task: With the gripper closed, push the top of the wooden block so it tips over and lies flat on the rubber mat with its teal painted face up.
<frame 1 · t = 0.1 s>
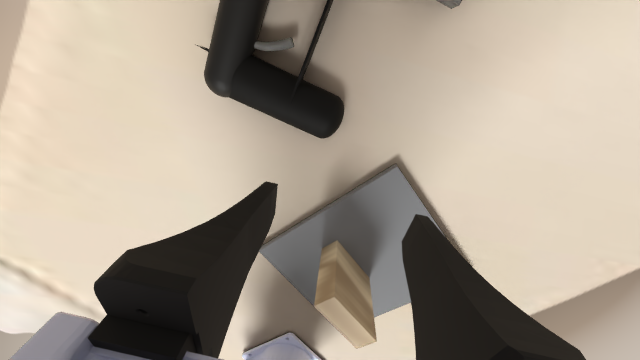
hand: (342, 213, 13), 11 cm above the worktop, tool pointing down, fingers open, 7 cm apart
mat: (362, 258, 27), on the worktop
wooden block: (346, 263, 27), point 1 cm above the worktop, touching mat
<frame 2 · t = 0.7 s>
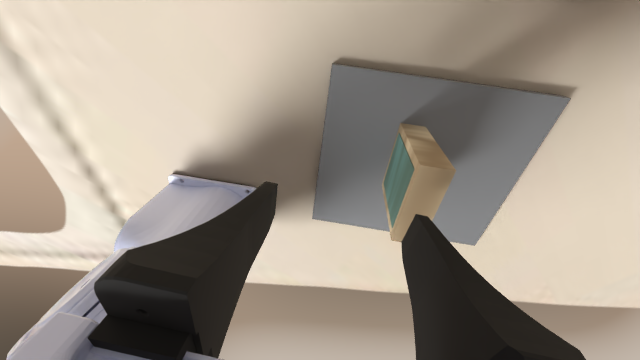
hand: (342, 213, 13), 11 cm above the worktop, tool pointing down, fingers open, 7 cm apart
mat: (413, 166, 22), on the worktop
wooden block: (401, 158, 21), point 1 cm above the worktop, touching mat
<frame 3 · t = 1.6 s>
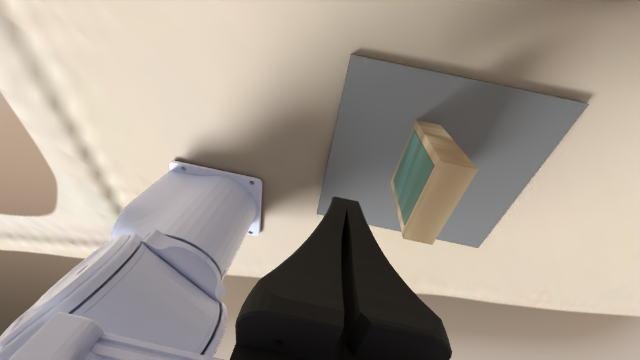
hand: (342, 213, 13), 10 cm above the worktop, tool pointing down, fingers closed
mat: (424, 165, 22), on the worktop
wooden block: (413, 156, 21), point 1 cm above the worktop, touching mat
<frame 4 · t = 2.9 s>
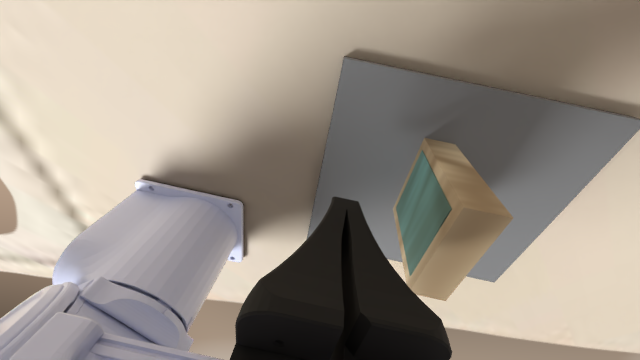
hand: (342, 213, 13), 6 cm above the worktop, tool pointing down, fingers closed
mat: (433, 189, 19), on the worktop
wooden block: (421, 179, 17), point 1 cm above the worktop, touching mat
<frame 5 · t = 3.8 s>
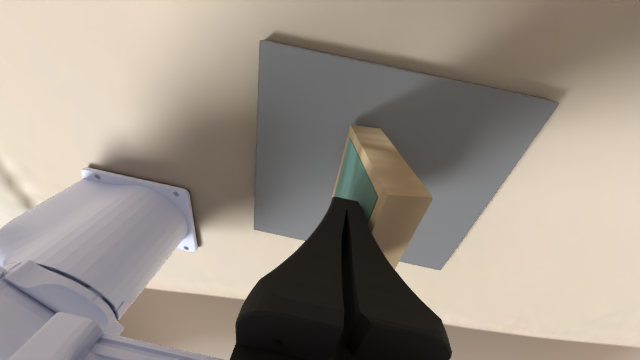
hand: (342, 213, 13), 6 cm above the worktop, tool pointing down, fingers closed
mat: (369, 175, 19), on the worktop
wooden block: (353, 167, 17), point 1 cm above the worktop, tilted 14°, touching mat
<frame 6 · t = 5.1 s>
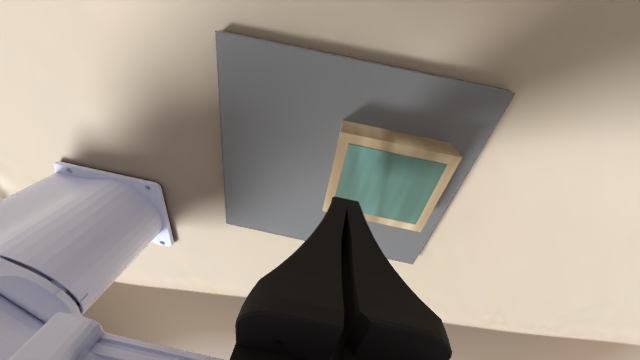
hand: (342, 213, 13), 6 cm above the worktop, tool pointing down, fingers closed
mat: (337, 168, 19), on the worktop
wooden block: (331, 167, 17), point 2 cm above the worktop, tilted 90°, touching mat
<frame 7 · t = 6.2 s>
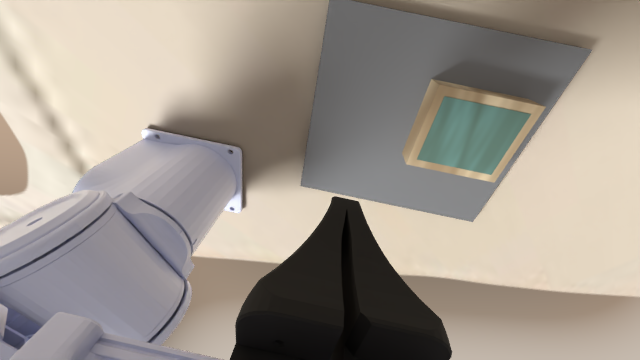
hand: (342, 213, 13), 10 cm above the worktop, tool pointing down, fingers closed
mat: (413, 128, 21), on the worktop
wooden block: (418, 123, 18), point 2 cm above the worktop, tilted 90°, touching mat
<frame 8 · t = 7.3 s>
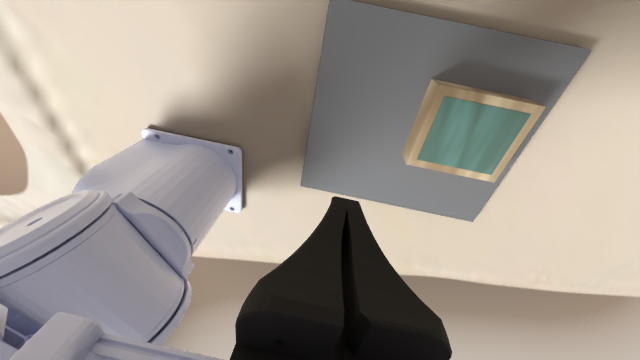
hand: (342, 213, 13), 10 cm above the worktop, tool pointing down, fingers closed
mat: (413, 128, 21), on the worktop
wooden block: (418, 123, 18), point 2 cm above the worktop, tilted 90°, touching mat
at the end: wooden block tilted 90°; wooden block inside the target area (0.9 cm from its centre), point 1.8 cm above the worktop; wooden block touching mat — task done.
